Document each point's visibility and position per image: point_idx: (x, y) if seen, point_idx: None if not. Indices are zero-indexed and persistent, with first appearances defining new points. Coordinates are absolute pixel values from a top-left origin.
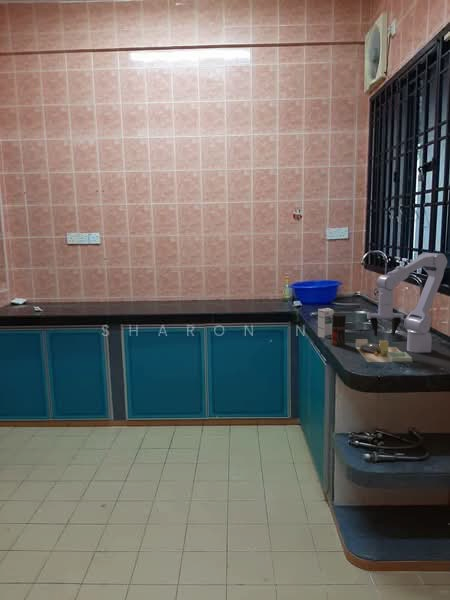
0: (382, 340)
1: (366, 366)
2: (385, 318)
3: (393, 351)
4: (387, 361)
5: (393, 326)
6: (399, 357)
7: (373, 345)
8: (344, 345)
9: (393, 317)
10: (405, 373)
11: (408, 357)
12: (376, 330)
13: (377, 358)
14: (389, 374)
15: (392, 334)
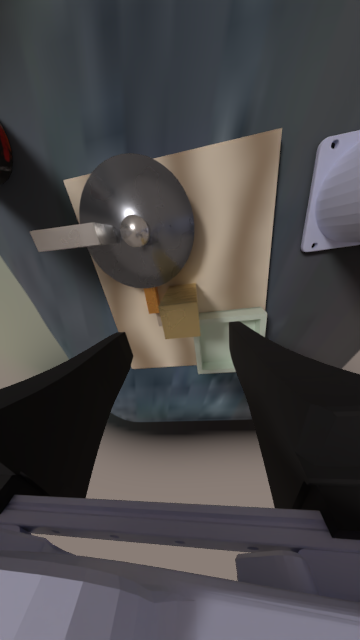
0: (174, 309)
1: (132, 380)
2: (157, 516)
3: (236, 240)
4: (185, 361)
5: (252, 397)
6: (221, 370)
7: (142, 243)
8: (2, 152)
9: (310, 555)
10: (213, 411)
11: None
12: (115, 390)
13: (159, 339)
14: (178, 416)
15: (230, 344)
